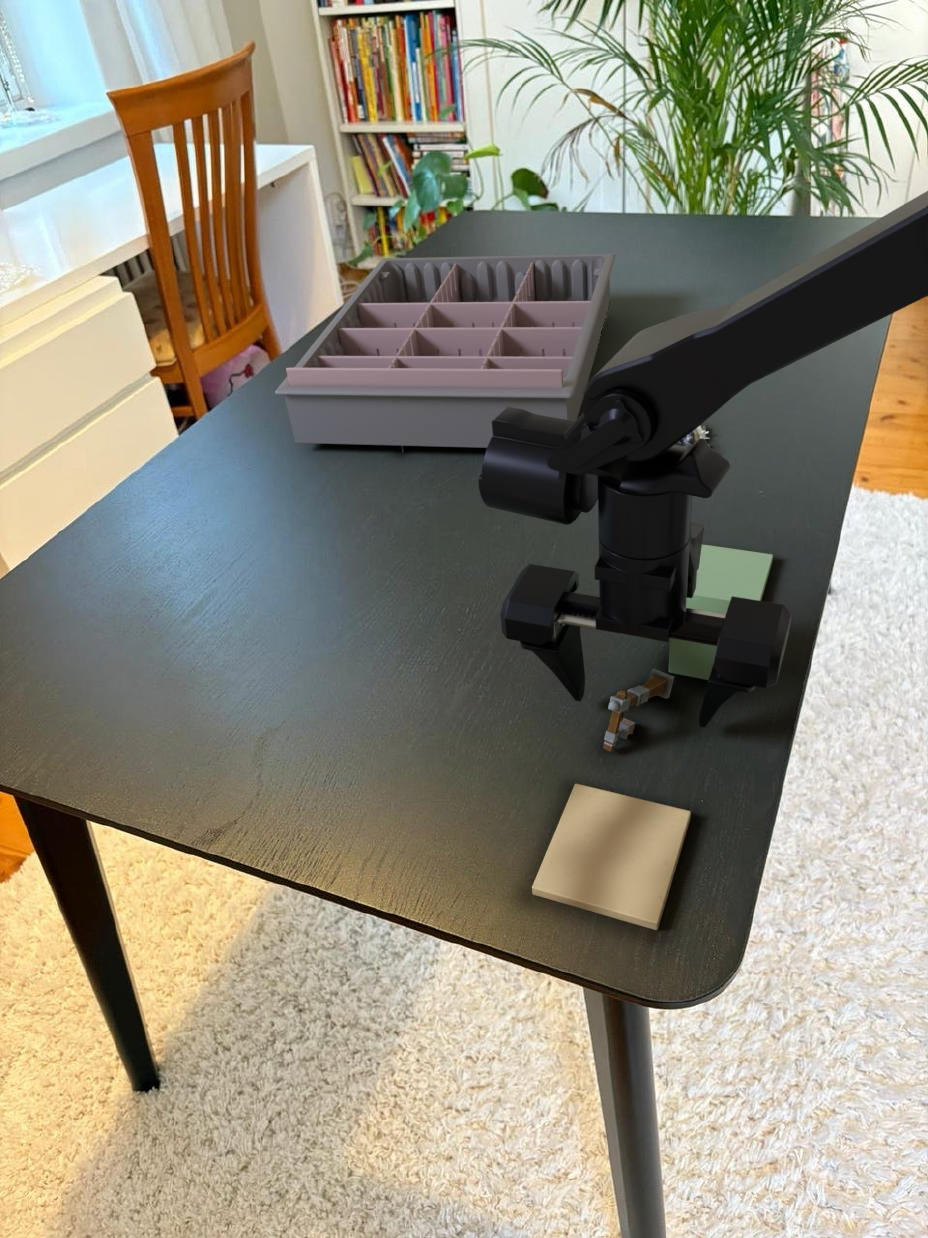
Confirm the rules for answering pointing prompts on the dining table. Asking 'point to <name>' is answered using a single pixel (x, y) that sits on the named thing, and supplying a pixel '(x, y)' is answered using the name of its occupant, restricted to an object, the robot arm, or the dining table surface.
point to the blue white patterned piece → (693, 436)
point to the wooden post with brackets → (634, 696)
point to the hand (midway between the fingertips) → (640, 709)
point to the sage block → (695, 644)
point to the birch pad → (613, 855)
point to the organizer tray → (451, 350)
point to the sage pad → (732, 573)
